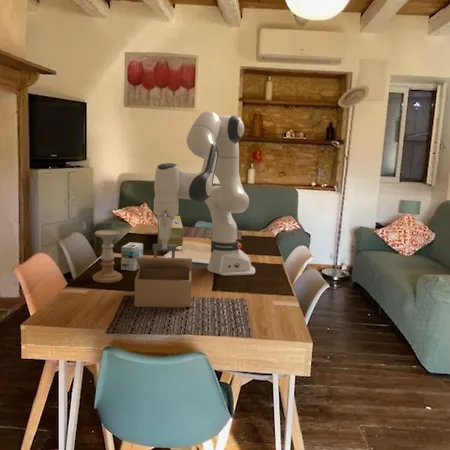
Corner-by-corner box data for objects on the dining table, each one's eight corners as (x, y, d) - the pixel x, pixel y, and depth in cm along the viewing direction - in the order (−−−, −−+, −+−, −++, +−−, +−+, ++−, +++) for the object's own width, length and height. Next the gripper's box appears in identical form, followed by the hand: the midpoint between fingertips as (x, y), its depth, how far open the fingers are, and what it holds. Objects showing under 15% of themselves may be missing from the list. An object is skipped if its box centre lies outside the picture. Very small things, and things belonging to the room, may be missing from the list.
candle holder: (107, 285, 188) (107, 236, 184) (86, 279, 194) (85, 232, 190) (128, 278, 198) (129, 232, 194) (108, 272, 204) (108, 228, 201)
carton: (190, 293, 183) (191, 269, 181) (190, 307, 168) (191, 281, 166) (139, 292, 181) (139, 267, 179) (134, 306, 166) (134, 279, 165)
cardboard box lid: (191, 269, 181) (191, 255, 183) (192, 259, 165) (192, 244, 167) (139, 267, 179) (140, 253, 181) (135, 257, 164) (136, 242, 166)
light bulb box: (134, 271, 209) (134, 248, 207) (120, 269, 210) (120, 246, 208) (143, 265, 219) (143, 243, 217) (129, 263, 220) (130, 241, 218)
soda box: (182, 251, 250) (183, 227, 248) (157, 250, 248) (157, 227, 246) (179, 235, 289) (180, 214, 287) (157, 234, 287) (158, 214, 285)
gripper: (174, 214, 156) (172, 254, 158) (175, 205, 176) (174, 241, 178) (155, 213, 155) (154, 253, 157) (159, 205, 175) (158, 240, 178)
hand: (165, 247), depth 168 cm, fingers open, 4 cm apart
